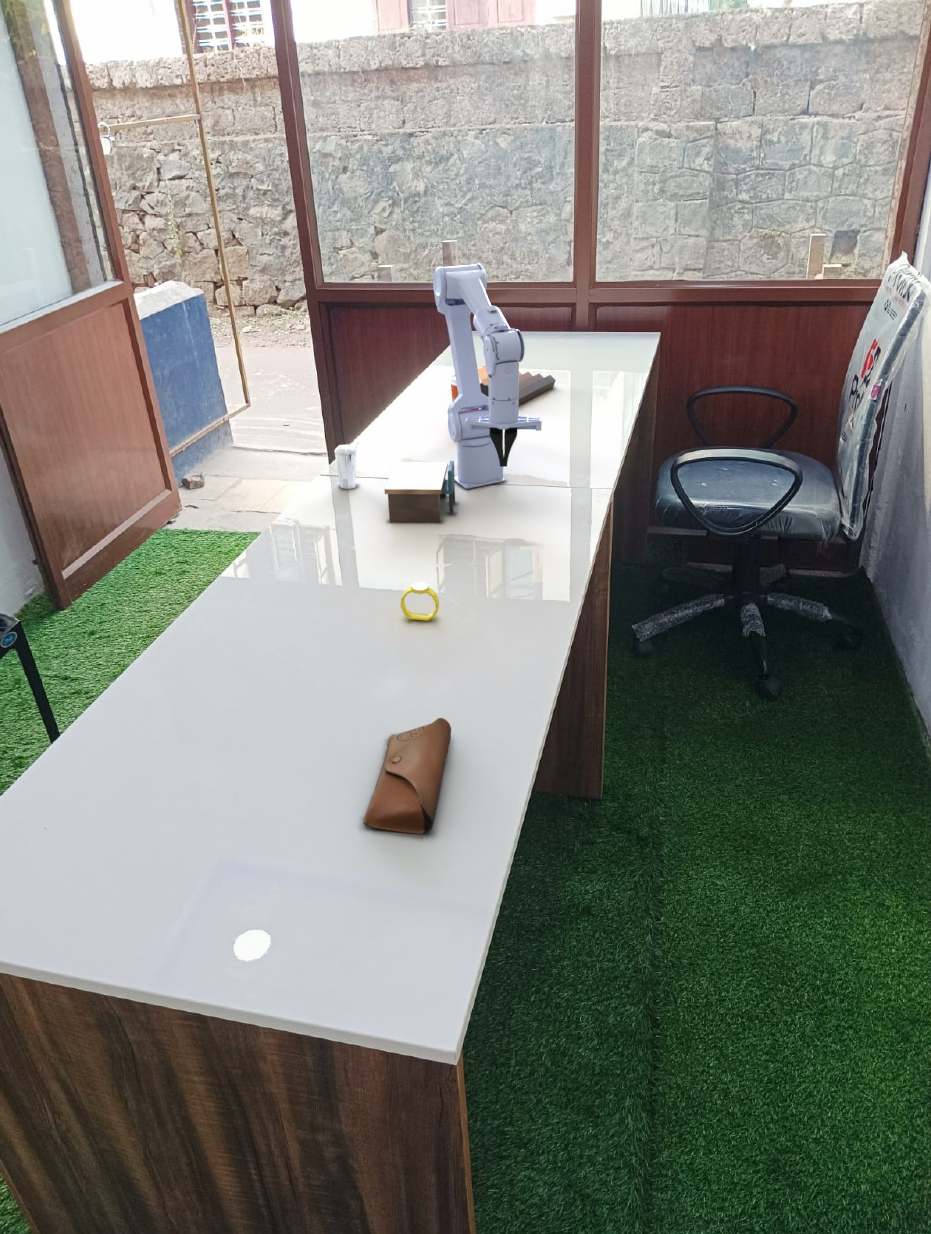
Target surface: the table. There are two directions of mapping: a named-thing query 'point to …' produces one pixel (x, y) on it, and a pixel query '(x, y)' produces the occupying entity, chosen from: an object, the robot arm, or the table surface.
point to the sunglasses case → (410, 780)
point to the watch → (419, 589)
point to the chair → (450, 486)
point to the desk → (416, 492)
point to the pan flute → (521, 384)
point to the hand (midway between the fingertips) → (503, 464)
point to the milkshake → (346, 465)
